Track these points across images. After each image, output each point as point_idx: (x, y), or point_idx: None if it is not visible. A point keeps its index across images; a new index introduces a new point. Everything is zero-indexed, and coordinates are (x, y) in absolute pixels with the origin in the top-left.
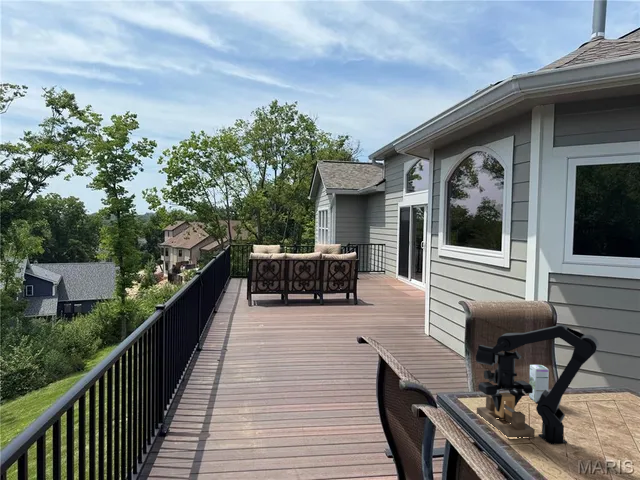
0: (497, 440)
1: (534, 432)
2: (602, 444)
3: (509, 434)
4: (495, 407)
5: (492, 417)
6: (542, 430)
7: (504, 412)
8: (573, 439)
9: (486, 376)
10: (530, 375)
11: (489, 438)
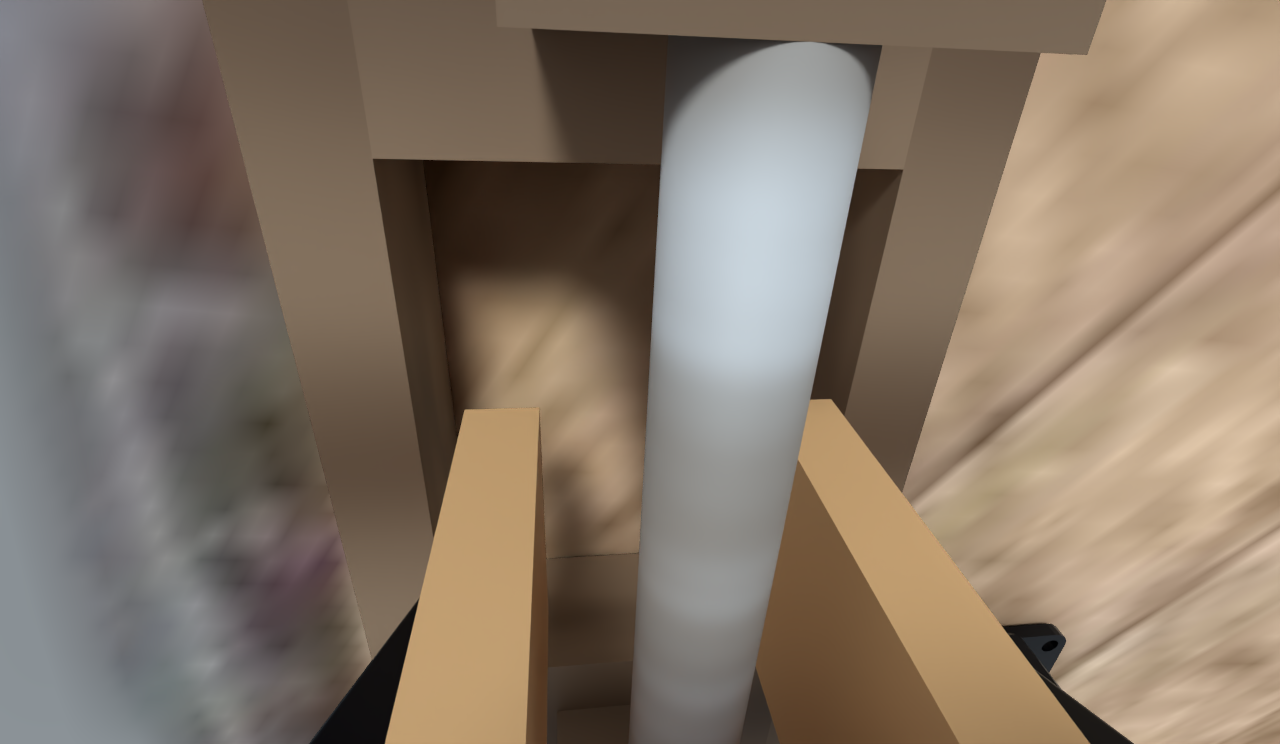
0: (278, 705)
1: None
2: (1248, 738)
3: None
4: (438, 546)
5: (370, 440)
6: None
7: (890, 172)
8: (1131, 683)
9: None
10: None
11: (181, 672)
